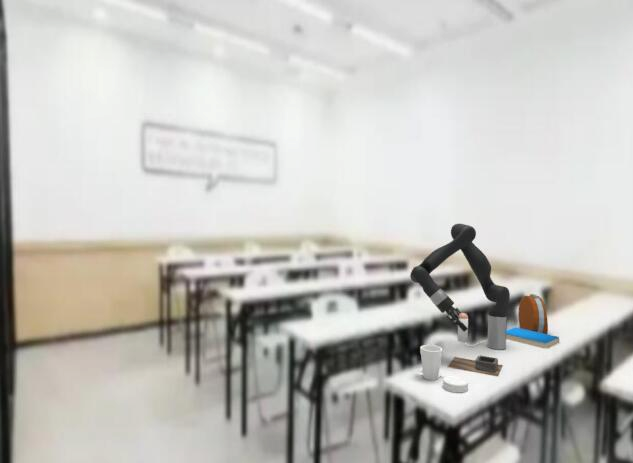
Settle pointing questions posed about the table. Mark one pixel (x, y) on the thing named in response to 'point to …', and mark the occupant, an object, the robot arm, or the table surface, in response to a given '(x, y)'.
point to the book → (531, 337)
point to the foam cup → (431, 361)
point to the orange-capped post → (461, 334)
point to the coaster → (455, 384)
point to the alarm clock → (533, 314)
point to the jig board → (477, 365)
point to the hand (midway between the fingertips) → (467, 328)
